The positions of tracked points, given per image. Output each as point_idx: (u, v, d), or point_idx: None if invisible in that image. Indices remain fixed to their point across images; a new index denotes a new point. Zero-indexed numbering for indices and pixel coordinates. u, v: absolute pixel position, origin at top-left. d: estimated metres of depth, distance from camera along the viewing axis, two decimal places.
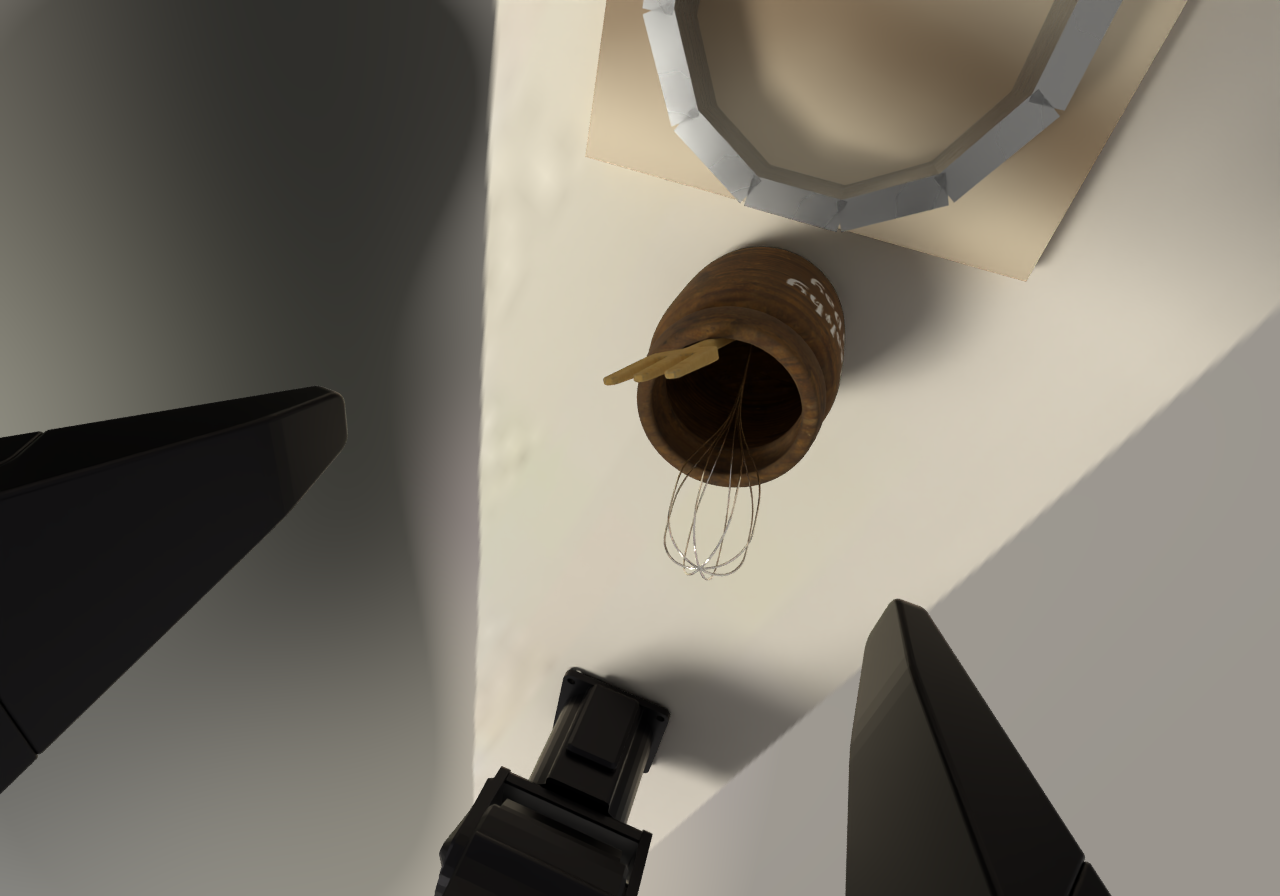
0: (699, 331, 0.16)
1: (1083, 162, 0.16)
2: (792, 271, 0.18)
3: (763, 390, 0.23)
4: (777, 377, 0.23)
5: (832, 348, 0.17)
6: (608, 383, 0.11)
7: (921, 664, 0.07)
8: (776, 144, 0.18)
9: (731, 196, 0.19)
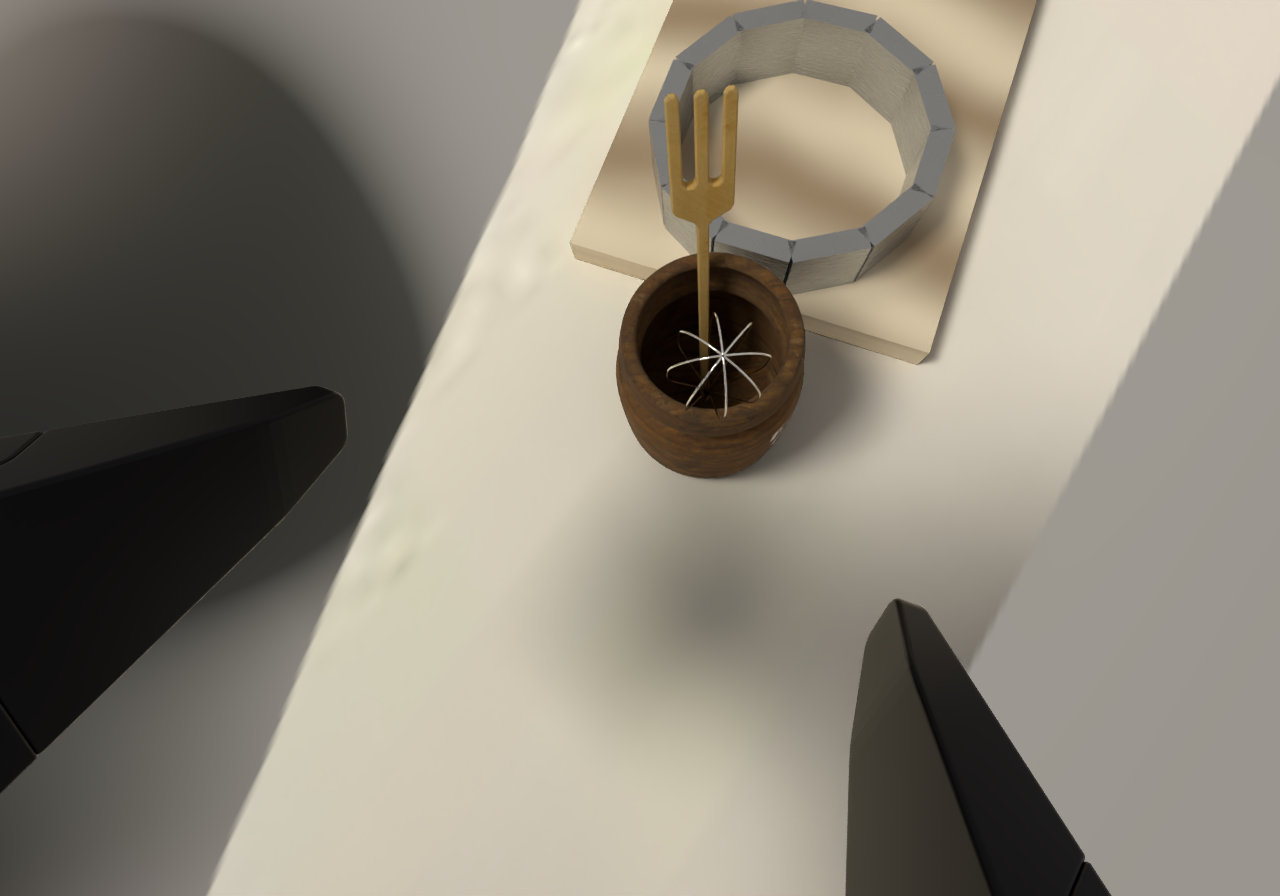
0: (694, 257, 0.17)
1: (946, 272, 0.23)
2: None
3: None
4: None
5: None
6: (670, 97, 0.13)
7: (921, 664, 0.07)
8: None
9: None
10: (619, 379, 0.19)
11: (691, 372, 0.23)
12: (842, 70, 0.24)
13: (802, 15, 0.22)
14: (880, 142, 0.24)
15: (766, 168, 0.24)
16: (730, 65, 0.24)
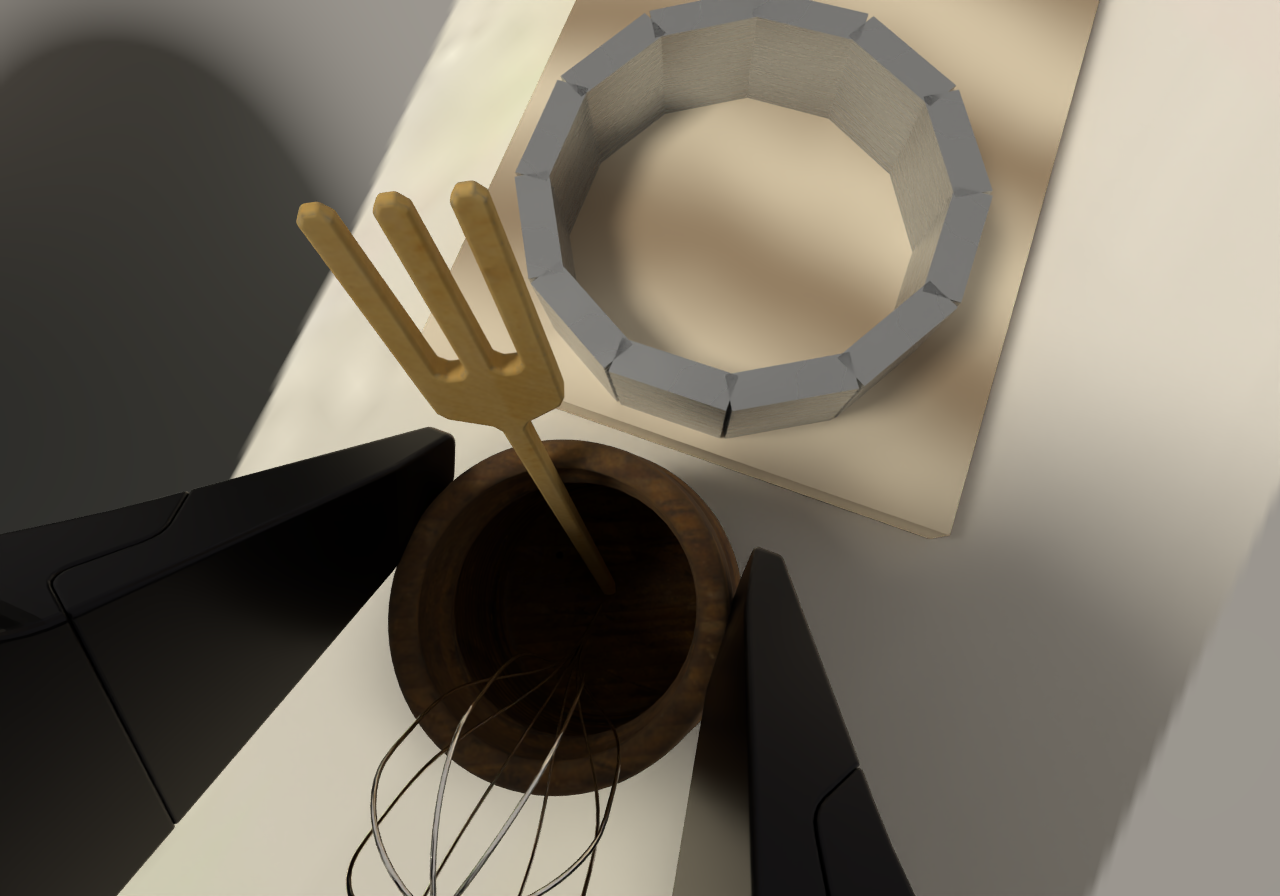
0: None
1: (974, 405, 0.15)
2: None
3: (611, 701, 0.15)
4: (633, 679, 0.15)
5: (731, 553, 0.11)
6: (306, 212, 0.05)
7: (756, 601, 0.07)
8: None
9: (588, 407, 0.15)
10: None
11: None
12: (818, 95, 0.16)
13: (754, 13, 0.15)
14: (874, 202, 0.16)
15: (706, 239, 0.16)
16: (651, 87, 0.16)
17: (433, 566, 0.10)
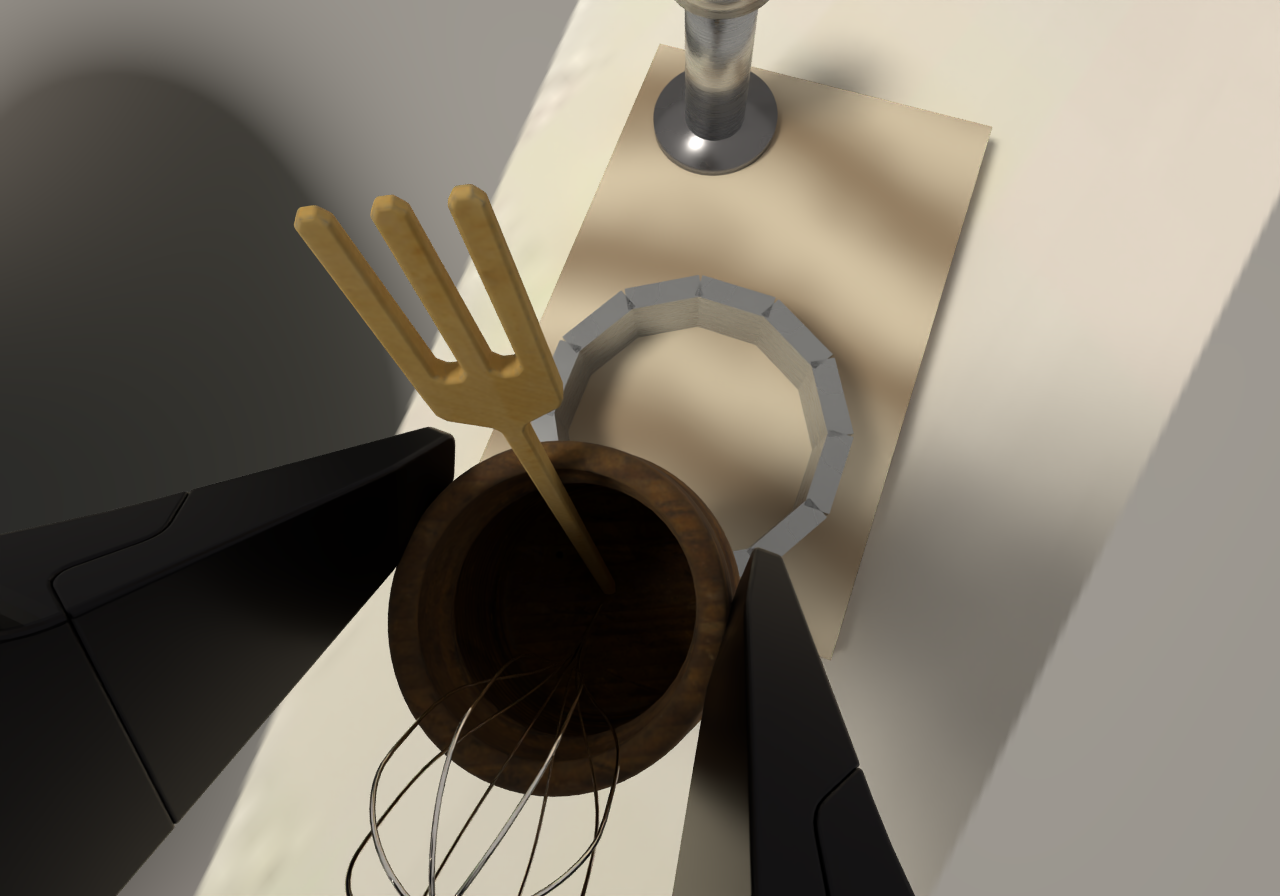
0: None
1: (851, 565, 0.21)
2: None
3: (611, 700, 0.15)
4: (632, 678, 0.15)
5: (731, 553, 0.11)
6: (303, 215, 0.05)
7: (756, 601, 0.07)
8: None
9: None
10: None
11: None
12: (746, 334, 0.23)
13: (697, 293, 0.21)
14: (786, 410, 0.22)
15: (666, 436, 0.23)
16: (626, 331, 0.22)
17: (433, 567, 0.10)
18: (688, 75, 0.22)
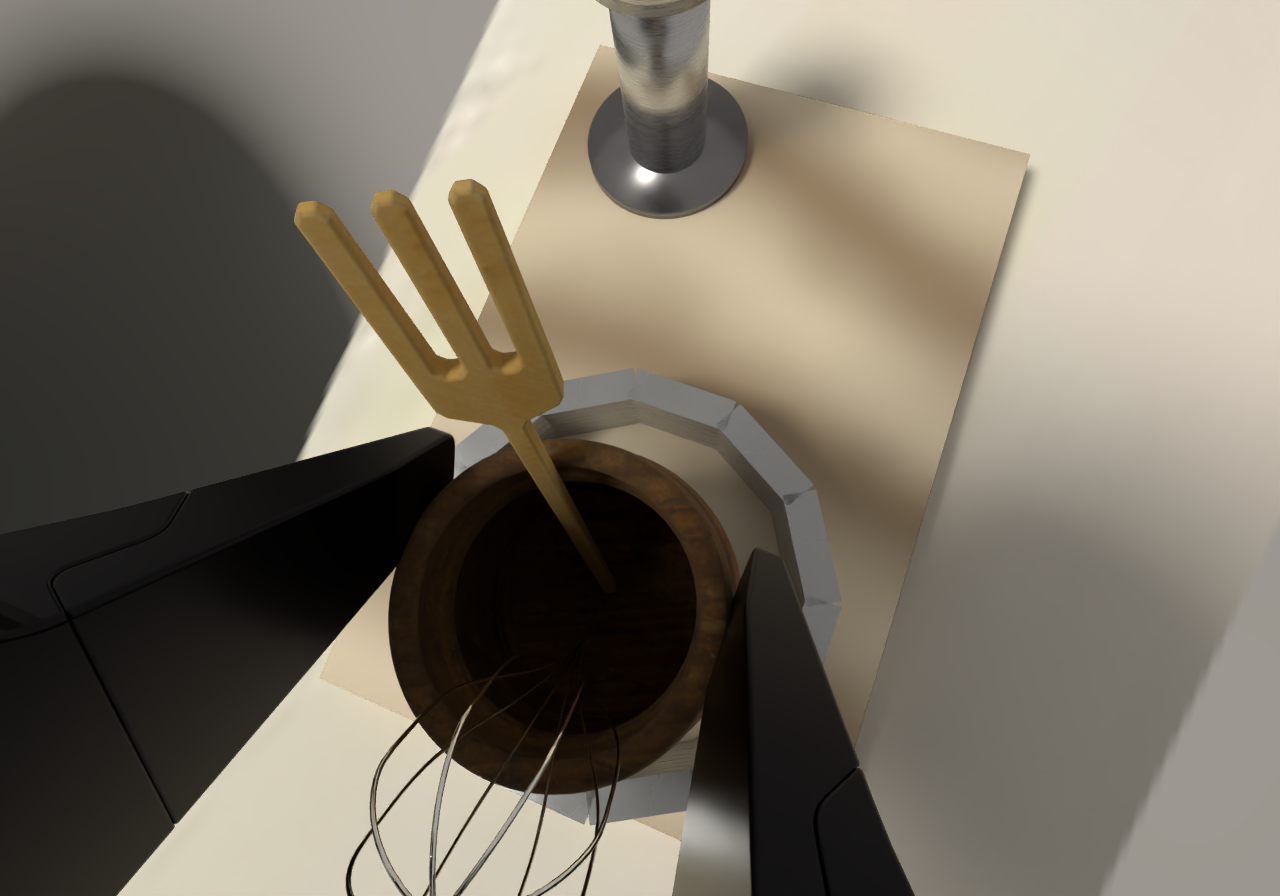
0: None
1: None
2: None
3: (611, 699, 0.15)
4: (633, 677, 0.15)
5: (731, 552, 0.11)
6: (303, 210, 0.05)
7: (756, 601, 0.07)
8: None
9: None
10: None
11: None
12: (702, 439, 0.17)
13: (629, 394, 0.15)
14: (754, 541, 0.17)
15: None
16: (540, 436, 0.17)
17: (433, 565, 0.10)
18: (623, 91, 0.17)
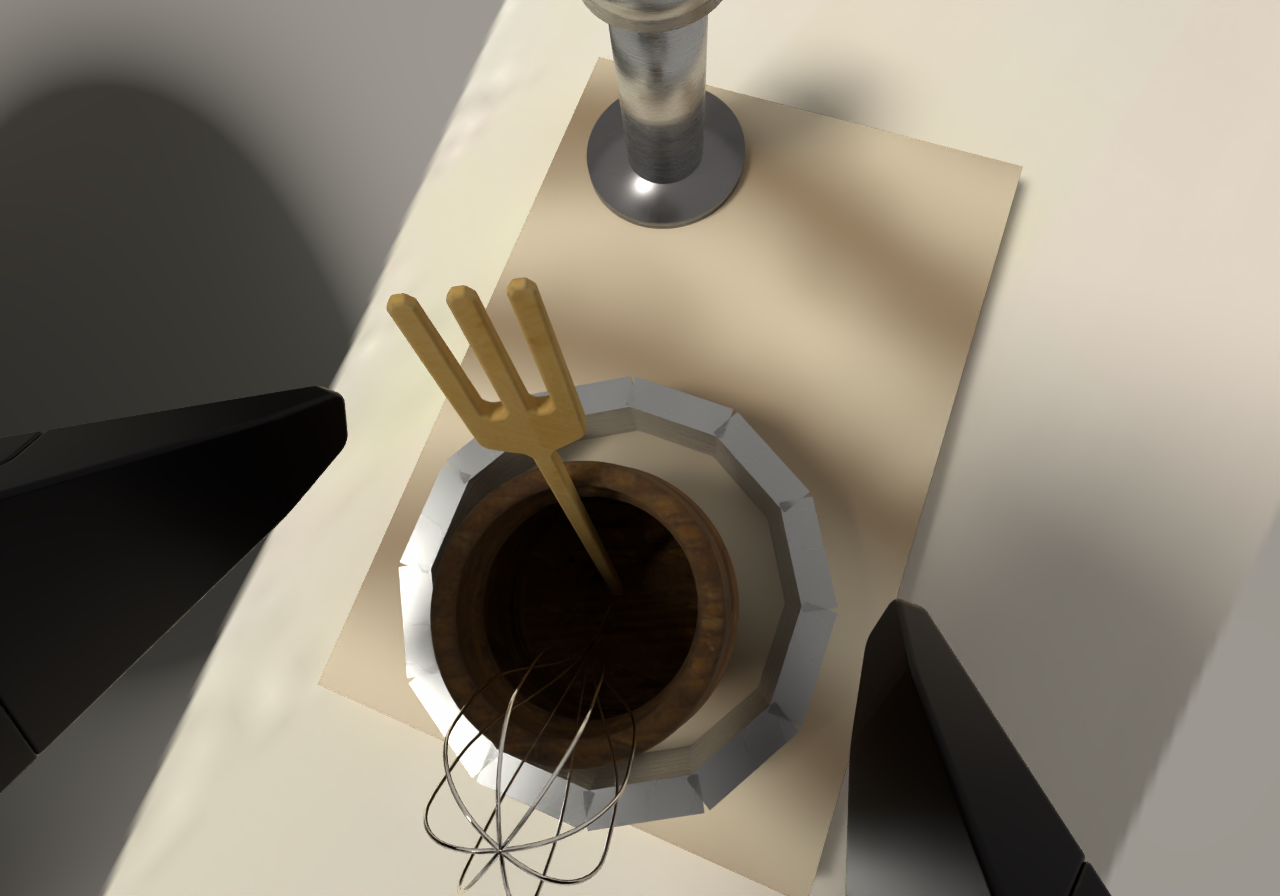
0: None
1: (836, 768, 0.16)
2: None
3: (619, 692, 0.16)
4: (639, 672, 0.16)
5: (728, 558, 0.12)
6: (395, 301, 0.06)
7: (921, 664, 0.07)
8: None
9: None
10: None
11: None
12: (699, 446, 0.17)
13: (628, 402, 0.16)
14: (751, 547, 0.17)
15: None
16: None
17: (466, 571, 0.11)
18: (622, 103, 0.17)
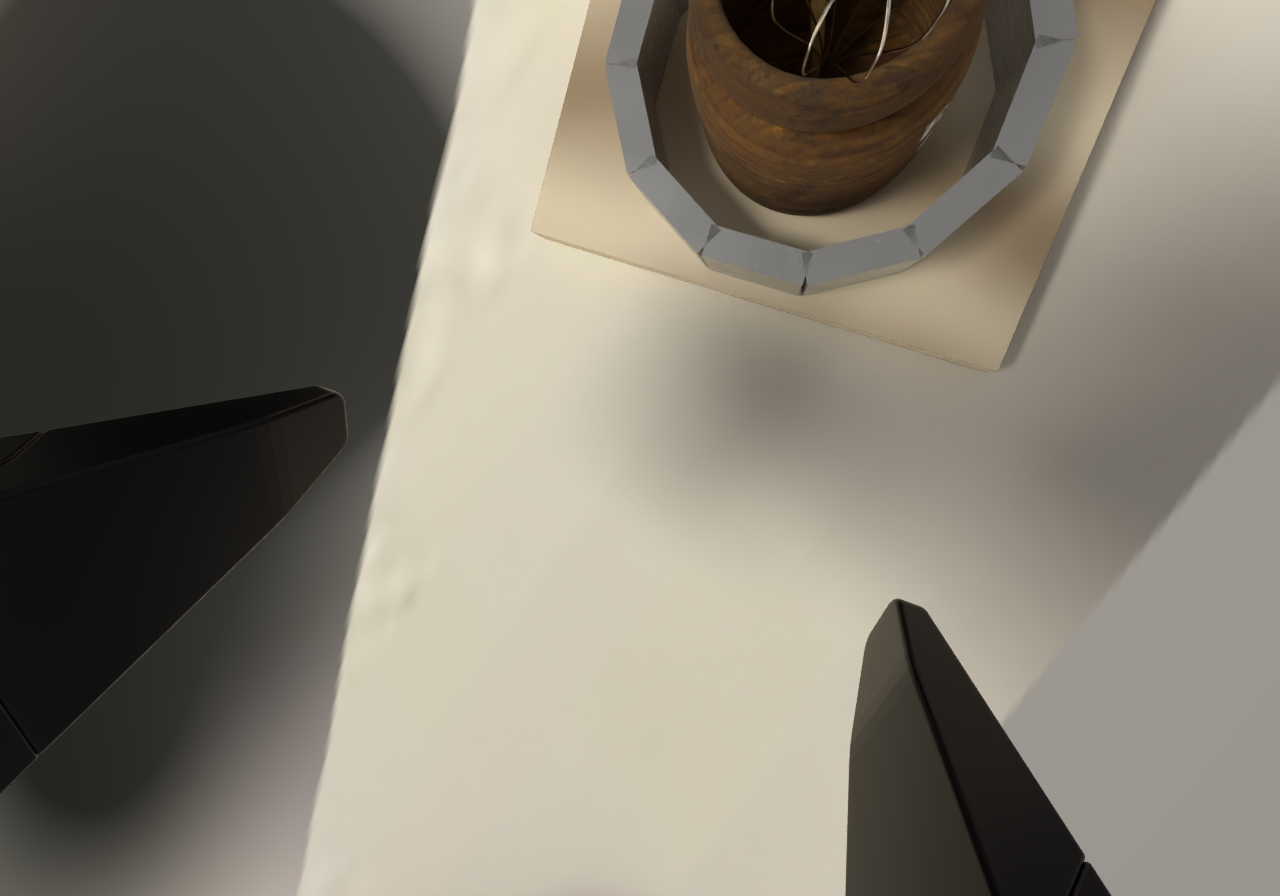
0: None
1: (1038, 250, 0.16)
2: None
3: None
4: None
5: None
6: None
7: (921, 664, 0.07)
8: (731, 224, 0.18)
9: (683, 275, 0.18)
10: (692, 62, 0.13)
11: (794, 59, 0.16)
12: None
13: None
14: None
15: None
16: None
17: None
18: None
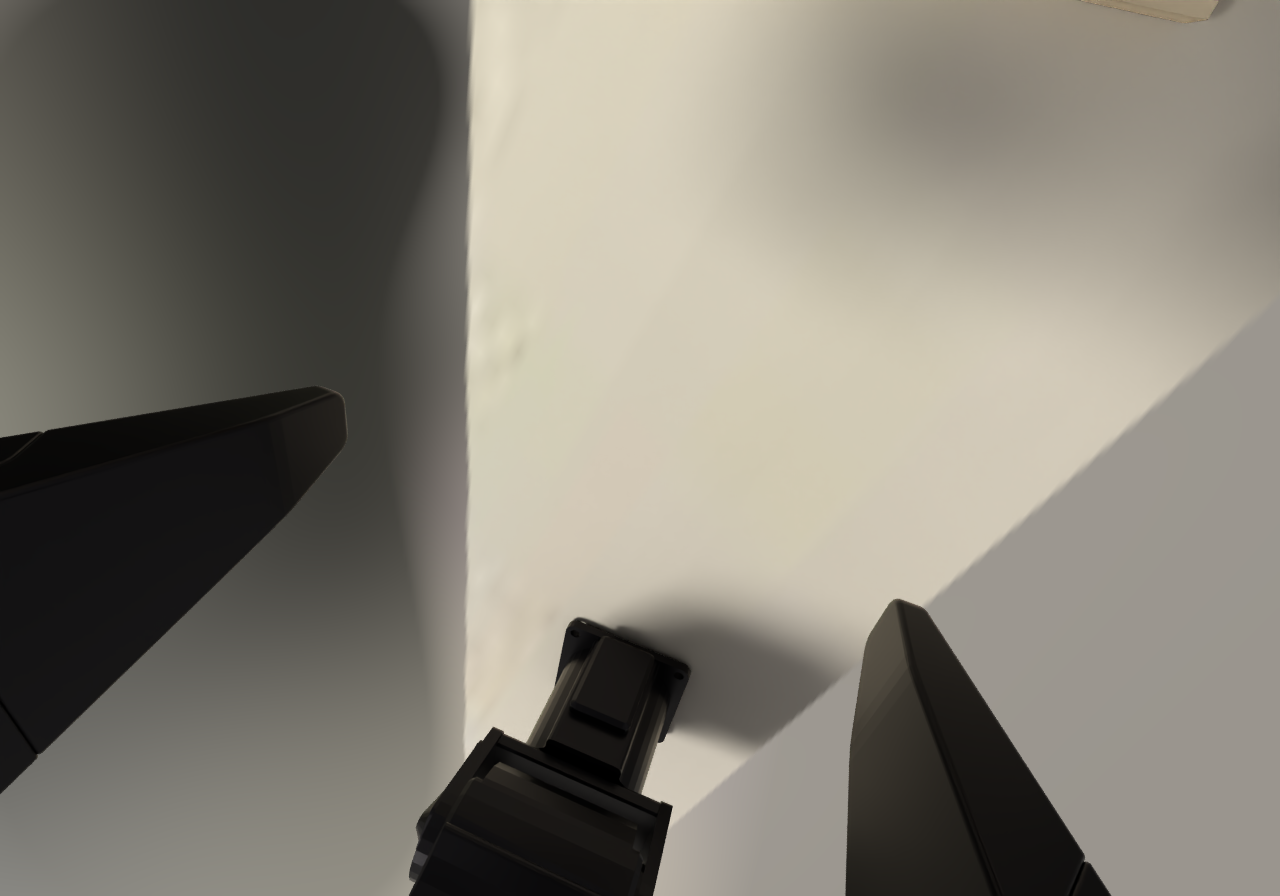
0: None
1: None
2: None
3: None
4: None
5: None
6: None
7: (921, 664, 0.07)
8: None
9: None
10: None
11: None
12: None
13: None
14: None
15: None
16: None
17: None
18: None
